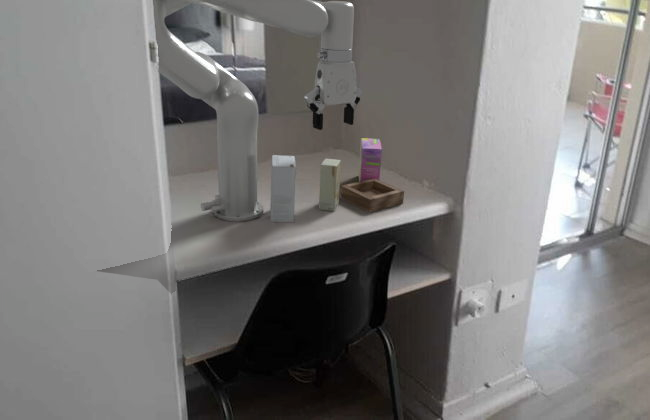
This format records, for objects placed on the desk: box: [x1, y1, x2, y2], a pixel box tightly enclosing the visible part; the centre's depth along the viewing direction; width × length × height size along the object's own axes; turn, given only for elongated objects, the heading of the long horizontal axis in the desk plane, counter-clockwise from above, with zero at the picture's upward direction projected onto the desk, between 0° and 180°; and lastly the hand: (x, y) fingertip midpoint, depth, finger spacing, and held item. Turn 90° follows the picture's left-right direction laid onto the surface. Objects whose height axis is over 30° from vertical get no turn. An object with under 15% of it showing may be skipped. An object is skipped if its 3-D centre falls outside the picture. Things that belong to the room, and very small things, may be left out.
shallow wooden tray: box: [340, 178, 405, 213], centre depth 162 cm, size 12×12×4 cm
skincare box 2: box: [318, 158, 342, 212], centre depth 155 cm, size 6×4×12 cm
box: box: [357, 137, 383, 182], centre depth 174 cm, size 10×6×12 cm, turn 179°
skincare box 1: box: [269, 154, 297, 223], centre depth 148 cm, size 8×6×15 cm
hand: (333, 126), depth 149 cm, fingers open, 9 cm apart
